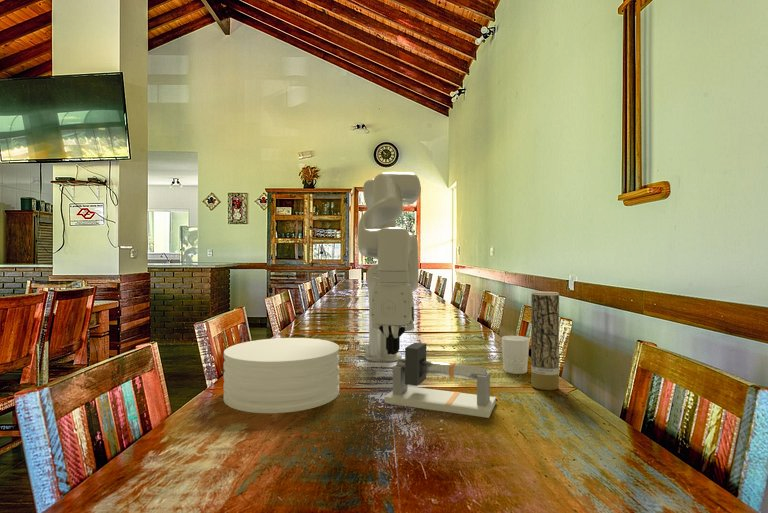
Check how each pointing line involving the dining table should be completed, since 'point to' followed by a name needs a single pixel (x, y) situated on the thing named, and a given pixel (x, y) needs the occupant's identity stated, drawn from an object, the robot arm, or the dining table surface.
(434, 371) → the pipe
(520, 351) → the white cup
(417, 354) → the collar
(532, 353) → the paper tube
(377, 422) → the dining table surface
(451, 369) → the orange strap
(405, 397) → the pipe stand
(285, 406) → the plate stack
